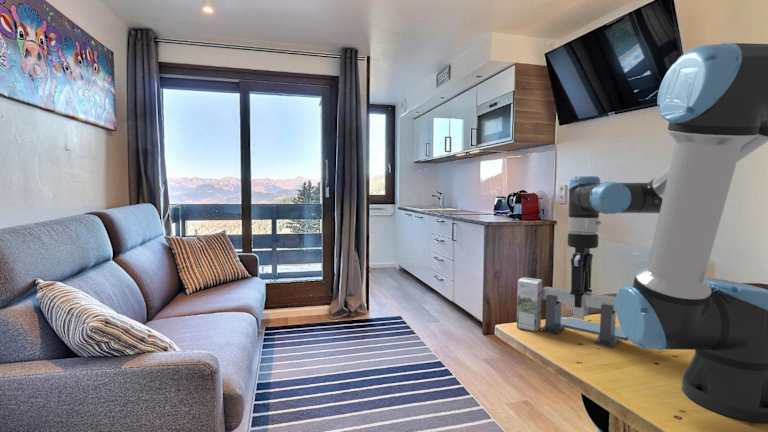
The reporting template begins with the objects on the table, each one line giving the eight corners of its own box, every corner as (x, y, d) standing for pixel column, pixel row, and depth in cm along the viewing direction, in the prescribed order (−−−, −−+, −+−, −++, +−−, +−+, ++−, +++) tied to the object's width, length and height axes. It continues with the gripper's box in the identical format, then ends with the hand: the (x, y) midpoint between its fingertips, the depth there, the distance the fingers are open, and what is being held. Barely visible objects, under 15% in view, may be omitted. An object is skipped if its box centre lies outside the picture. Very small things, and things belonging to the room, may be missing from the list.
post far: (557, 334, 111) (558, 298, 110) (541, 331, 114) (542, 295, 113) (564, 328, 116) (565, 293, 115) (548, 324, 119) (550, 290, 118)
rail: (621, 312, 102) (621, 300, 102) (541, 298, 114) (542, 288, 114) (623, 309, 104) (623, 297, 104) (545, 296, 117) (545, 286, 117)
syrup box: (541, 326, 117) (542, 278, 116) (536, 332, 112) (537, 282, 111) (521, 323, 120) (522, 276, 119) (515, 328, 116) (517, 280, 115)
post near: (613, 347, 102) (615, 308, 101) (595, 343, 105) (596, 305, 104) (618, 339, 107) (620, 302, 106) (600, 335, 110) (602, 299, 109)
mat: (625, 339, 107) (625, 337, 107) (545, 322, 121) (545, 321, 121) (629, 331, 113) (629, 329, 113) (553, 316, 127) (553, 314, 127)
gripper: (590, 236, 100) (587, 327, 101) (604, 231, 112) (601, 312, 114) (559, 234, 104) (557, 321, 106) (576, 229, 117) (573, 307, 118)
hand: (580, 316), depth 110 cm, fingers closed on rail, 3 cm apart
